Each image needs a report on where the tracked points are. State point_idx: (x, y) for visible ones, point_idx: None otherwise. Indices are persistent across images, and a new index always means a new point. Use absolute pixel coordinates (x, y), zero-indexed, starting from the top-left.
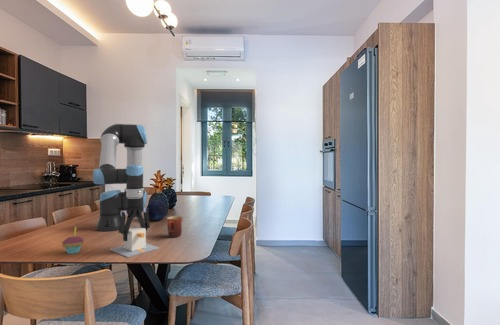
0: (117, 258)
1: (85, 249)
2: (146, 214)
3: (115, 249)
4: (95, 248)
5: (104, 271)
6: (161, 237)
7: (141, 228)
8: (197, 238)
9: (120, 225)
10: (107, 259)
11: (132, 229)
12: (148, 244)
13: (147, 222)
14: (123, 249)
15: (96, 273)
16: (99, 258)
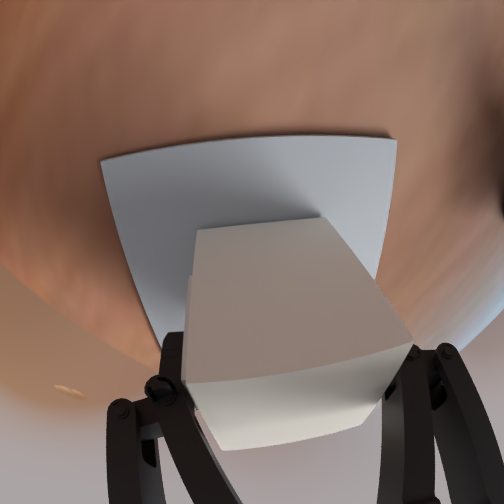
0: (123, 341)
1: (2, 41)
2: (452, 498)
3: (132, 205)
4: (43, 43)
5: (84, 396)
6: (495, 154)
7: (352, 415)
8: (497, 290)
9: (118, 487)
10: (80, 324)
11: (269, 421)
12: (373, 253)
13: (435, 425)
14: (185, 246)
15: (65, 392)
16: (44, 286)
